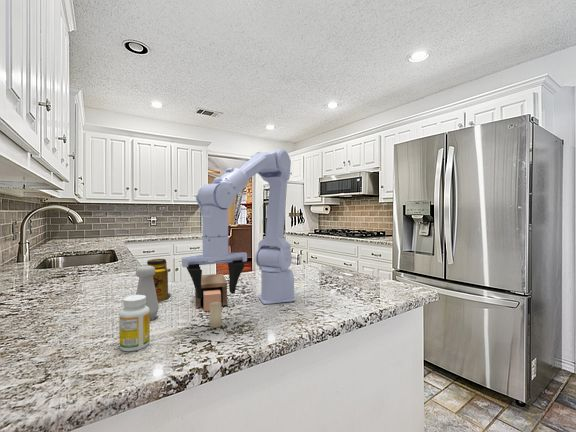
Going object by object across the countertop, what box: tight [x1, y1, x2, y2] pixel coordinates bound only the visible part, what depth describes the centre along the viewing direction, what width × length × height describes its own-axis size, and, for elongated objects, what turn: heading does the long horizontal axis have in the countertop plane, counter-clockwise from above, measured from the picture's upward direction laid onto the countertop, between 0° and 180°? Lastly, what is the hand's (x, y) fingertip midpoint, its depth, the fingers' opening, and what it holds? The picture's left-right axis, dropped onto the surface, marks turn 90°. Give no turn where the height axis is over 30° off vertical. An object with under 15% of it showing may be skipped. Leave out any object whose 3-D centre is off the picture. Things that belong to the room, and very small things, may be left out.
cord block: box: [202, 289, 223, 329], centre depth 74 cm, size 4×16×5 cm, turn 18°
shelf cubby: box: [194, 273, 228, 309], centre depth 87 cm, size 8×12×6 cm
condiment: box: [146, 258, 172, 303], centre depth 89 cm, size 7×8×12 cm
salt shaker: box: [135, 265, 160, 321], centre depth 72 cm, size 6×6×13 cm
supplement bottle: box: [118, 294, 151, 352], centre depth 58 cm, size 5×5×10 cm
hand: (216, 295), depth 68 cm, fingers open, 7 cm apart
